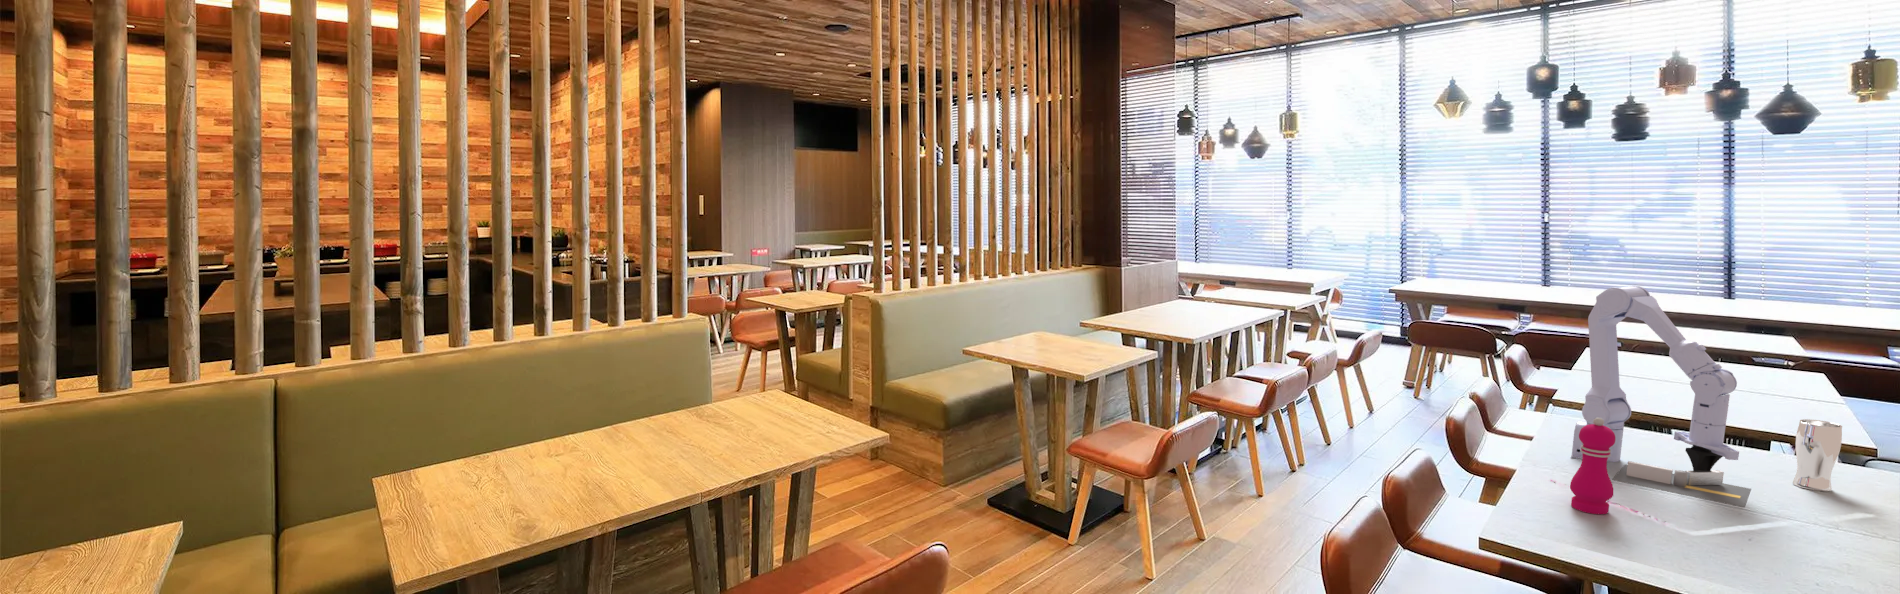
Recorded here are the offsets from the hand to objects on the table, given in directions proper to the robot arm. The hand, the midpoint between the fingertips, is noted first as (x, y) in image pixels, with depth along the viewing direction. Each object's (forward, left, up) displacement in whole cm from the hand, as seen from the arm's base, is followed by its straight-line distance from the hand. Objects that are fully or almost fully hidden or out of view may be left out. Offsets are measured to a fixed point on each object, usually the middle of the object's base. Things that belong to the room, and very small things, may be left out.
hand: (1700, 479), depth 184 cm
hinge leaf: (+1, -2, -1) cm, 2 cm away
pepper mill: (-14, -36, -2) cm, 38 cm away
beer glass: (+17, +18, -2) cm, 25 cm away
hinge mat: (-3, -5, -2) cm, 6 cm away
